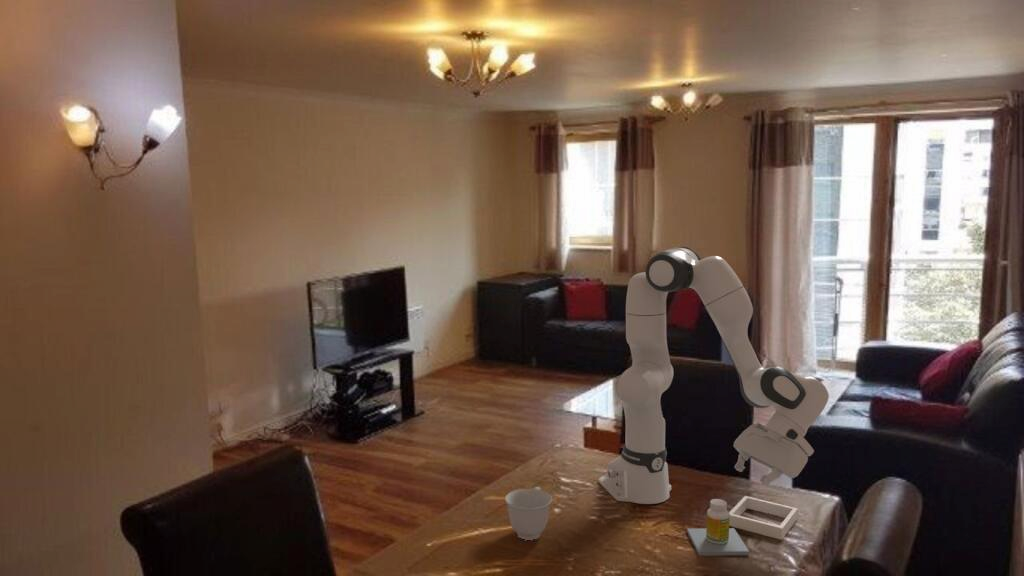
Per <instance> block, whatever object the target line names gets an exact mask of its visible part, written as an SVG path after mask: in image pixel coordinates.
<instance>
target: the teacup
mask: <svg viewBox="0 0 1024 576" xmlns="http://www.w3.org/2000/svg"><path fill="white" fill-rule="evenodd" d="M504 501H505V503H506V504H507V509H508V516H509V517H508V518H509V523H510V526H511V528H512V530H513V531H514V532H515V533H517V534H516V535H518V536H517V537H518V538H519V537H520V538H522V539H525V540H524V541H527V540H531V541H534V540H533V539H535V540H538V539H539V538H540V537H539V536H541V533H542V532H543V531H544V530H545V529H546V527H547V523H548V516H549V511H550V505H551V503H553V497H552V495H551V494H549V493H548V492H547V491H544V490H543V489H541V487H540V486H535V487H534V488H520V489H519V488H518V489H515V490H512V491H510V492H509V493H507V494H506V495H505V497H504ZM520 538H519V539H520ZM522 539H521V540H522Z"/></svg>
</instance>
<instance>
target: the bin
mask: <svg viewBox="0 0 1024 576" xmlns="http://www.w3.org/2000/svg"><path fill="white" fill-rule="evenodd" d="M747 509H749V510H753V511H757V512H761V513H764V514H768V513H769V514H768V515H772V514H773V515H772V516H776V515H777V517H780V518H783V521H782V522H781V523H780V525H778V524H777V525H776V524H773V523H769V522H765V521H761V520H758V519H754V518H751V517H750V518H749V517H746V516H742V515H743V513H744V512H745V511H746V510H747ZM798 509H799V508H797V507H793V506H790V505H786V504H785V505H784V504H780V503H777V502H773V501H772V502H771V501H769V500H765V499H760V498H755V497H751V496H747V495H744V496H743V497H742V498H741V499H740V500H739V501H738V502H737V504H736V505H735V506H733V508H731V509H730V511H729V514H730V519H729V527H731V528H734V529H735V528H736V529H740V530H744V531H748V532H752V533H754V534H758V535H762V536H767V537H770V538H774V539H776V540H780V541H781V540H783V539H784V538H785V536H786V535H787V534H788V532H789V531H790V530H791V528H792V527H793V526H794V525H795V523H796V522H797V520H798V513H799V510H798Z"/></svg>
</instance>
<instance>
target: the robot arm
mask: <svg viewBox="0 0 1024 576" xmlns="http://www.w3.org/2000/svg"><path fill="white" fill-rule="evenodd" d="M627 284H628V285H627V290H626V291H627V292H626V300H625V339H626V342H627V343H626V344H628V345H629V348H630V354H631V359H632V364H631V366H629V367H628V368H627V369H626V370H624V371H623V373H622V374H621V375H620V377H619V380H618V381H617V385H616V389H617V395H618V397H619V399H620V400H621V401H622V406H623V412H624V418H625V439H624V440H625V443H621V444H620V447H619V449H622V451H621V455H619V456H618V457H615V458H614V459H613V460H611V461H609V463H608V464H607V467H606V474H603V475H602V476H600V477H599V478H598V483H599V484H600V485H601V486H602V487H603V488H604V489H605V490H606V491H607V492H608V493H609V494H610V495H611V497H613V498H614V499H615V500H616V501H618V502H630V503H635V504H640V505H655V504H660V503H663V502H665V501H667V500H669V499H670V497H671V496H670V491H671V490H672V485H671V483H670V482H669V481H670V480H669V468H668V463H667V462H666V461H667V455H668V454H667V453H668V452H667V447H666V419H665V418H664V417H663V416H664V415H663V411H662V404H661V397H662V394H663V393H664V392H665V391H667V390H668V389H669V388H670V386H671V384H672V382H673V378H674V367H673V365H672V363H671V360H670V359H671V358H670V352H669V348H668V340H667V297H668V294H669V293H672V292H678V291H683V290H687V289H692V290H694V292H695V293H697V295H698V296H699V298H700V299H701V300H700V301H702V304H703V305H704V306H705V309H706V311H707V313H708V315H709V316H710V318H711V320H712V321H713V323H714V325H715V327H716V329H717V331H718V332H719V335H720V337H721V341H722V343H723V344H724V347H725V349H726V351H727V354H728V356H729V357H730V359H731V362H732V364H733V366H734V368H735V370H736V372H737V376H738V379H739V388H740V393H741V396H742V398H743V400H744V401H745V402H746V403H747V404H748V405H750V406H751V407H753V408H756V409H766V408H770V407H772V408H774V410H775V412H774V414H773V415H772V416H771V417H770V419H768V421H767V423H766V424H765V425H763V424H762V423H759V422H756V423H754V424H751V425H749V426H748V427H746V429H744V430H743V431H742V432H741V434H739V436H738V437H737V438H736V439H735V440H734V442H733V448H735V450H736V451H737V452H738V453H739V454H738V458H737V461H736V463H735V465H734V469H735V470H736V471H738V472H740V473H742V472H743V471H744V470H745V469H746V466H744V465H745V461H749V459H750V460H752V461H756V462H757V463H759V464H761V465H764V466H765V467H767V468H769V469H771V472H770V473H768V474H767V475H765V474H763V475H762V477H761V478H760V483H762V484H763V485H764V486H766V487H768V486H769V485H770V484H771V483H772V482H774V481H775V480H777V479H778V478H780V477H781V476H782V475H783V476H786V477H788V478H790V479H794V478H796V477H798V476H799V474H800V473H801V472H802V471H803V469H804V468H805V467H806V464H807V463H808V460H809V457H811V456H812V455H813V454H814V452H815V450H814V448H813V447H812V446H811V444H810V443H809V442H808V441H807V439H806V438H805V436H806V434H807V433H808V429H809V428H810V427H811V426H812V425H813V424H814V423H815V422H816V421H817V420H818V418H820V416H821V414H822V412H823V411H824V410H825V408H826V406H827V404H828V403H829V402H828V401H829V397H830V394H829V391H828V389H827V388H826V386H825V385H824V384H823V383H822V382H821V380H819V379H817V378H816V377H814V376H811V375H801V374H797V373H794V372H791V371H789V370H788V369H787V368H785V367H782V366H771V367H763V365H762V364H761V363H760V361H759V359H758V356H757V354H756V352H755V350H754V348H753V346H752V344H751V341H750V339H749V336H748V335H749V333H748V329H749V324H750V322H751V319H752V316H753V313H754V308H753V303H752V301H751V298H750V296H749V294H748V292H747V290H746V288H745V287H744V285H743V283H742V281H741V279H740V278H739V276H738V275H737V274H736V272H735V271H734V270H733V268H732V267H731V266H730V264H729V263H728V262H727V261H726V260H725V259H724V258H723V257H721V256H718V255H711V256H707V257H704V258H702V257H700V255H699V253H697V252H696V251H695V250H694V249H692V248H689V247H685V246H678V247H671V248H668V249H666V250H664V251H660V252H658V253H656V254H655V255H653V256H652V257H651V258H650V259H649V260H648V262H647V264H646V267H645V271H643V272H639V273H636V274H634V275H632V277H631V278H630V279H629V281H628V283H627Z"/></svg>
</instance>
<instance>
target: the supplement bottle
mask: <svg viewBox="0 0 1024 576" xmlns="http://www.w3.org/2000/svg"><path fill="white" fill-rule="evenodd" d="M709 502H710V503H709V508H708V509H707V511H706V527H705V528H706V538H707V540H708V541H710V542H712V543H716V544H724V543H727V542H728V540H729V528H730V526H729V519H730V514H729V512H730V511H729V510H728V502H727V501H726V500H725V499H720V498H713V499H711V500H710V501H709Z"/></svg>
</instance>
